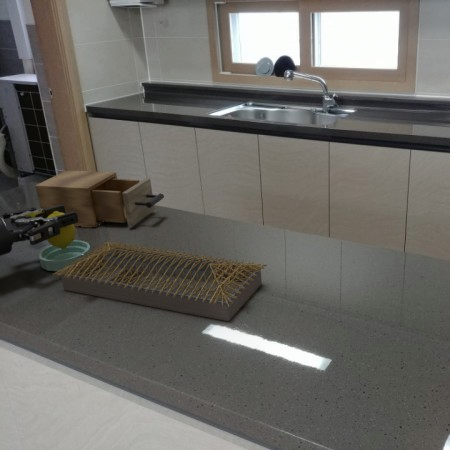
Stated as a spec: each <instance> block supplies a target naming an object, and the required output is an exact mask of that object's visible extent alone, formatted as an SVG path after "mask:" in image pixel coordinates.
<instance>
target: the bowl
mask: <svg viewBox="0 0 450 450" xmlns="http://www.w3.org/2000/svg"><path fill="white" fill-rule="evenodd" d="M89 252H92V247H91V245H90V244H89V242H87V241H84V240H80V239H79V240H78V239H74V240H73V242H72V243H71V244H70V245H68V246H67V247H66V248H65V249H61V248H58V247H54V246H52V245H51V244H50V245H48V246H46V247H44V248H42V250H40V252H39V253H38V259H39V260H38V261H39V264H40V267H41V268H42V269H43V270H45V271H49V272H57V271H59V270H61V269H64V268H63V267H66V266H70V263H73V262H77V261H81V260H77V259H81V256H85V255H88V254H87V253H89ZM89 254H92V253H89ZM88 256H90V255H88ZM88 256H85V257H88ZM75 260H77V261H75ZM77 263H78V262H77ZM74 264H75V263H74ZM74 264H73V265H74ZM66 268H67V267H66ZM63 271H64V270H63Z"/></svg>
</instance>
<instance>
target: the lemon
mask: <svg viewBox="0 0 450 450" xmlns="http://www.w3.org/2000/svg"><path fill="white" fill-rule="evenodd" d="M63 214H64V213H61V212H58V211H55V212H54V213H53V214H51V215H49V216H48V217H47V218H52V217H56V216H60V215H63ZM45 224H46V223H45ZM50 228H51V227H50ZM49 233H51V232H49ZM75 238H76V226H74V224H72V225H69V226H66V227H62V228H60V234H59V235H56V236H54V237H52V238H49V239H47V240H46V241H47V242H48V243H49V244H50V245H52V246H54V247H58V248H61V249H65V248H66V247H67V246H68V245H70V244H71V243H72V242H73V240H75Z"/></svg>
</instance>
